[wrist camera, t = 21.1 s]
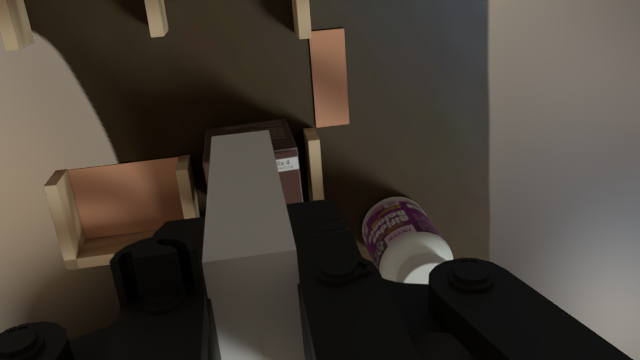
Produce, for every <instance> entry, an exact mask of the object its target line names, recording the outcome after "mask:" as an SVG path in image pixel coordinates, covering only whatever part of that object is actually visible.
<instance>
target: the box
mask: <svg viewBox="0 0 640 360" xmlns="http://www.w3.org/2000/svg"><path fill="white" fill-rule="evenodd" d="M265 130H269V134H270V138H271V142H272V147H273V151H274V155H275V160H276V164H277V168H278V173H279V177H280V181H281V185H282V190H283V194H284V198H285V203H286V204H291V203H299V202H303V194H302V185H301V175H300V165H299V156H298V148H297V146H296V143H295V141H294V139H293V136H292V134H291V131H290V128H289V126H288V123H287V122H286V120H285V119H284V118H282V119H275V120H268V121H260V122H253V123H245V124H238V125H231V126H224V127H217V128H210V129H206V132H205V145H204V154H203V170H204V174H205V179H206V185H207V190H208V178H209V165H210V152H211V139H212V137H213V136H222V135H230V134H239V133H248V132H257V131H265Z"/></svg>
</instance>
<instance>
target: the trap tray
mask: <svg viewBox="0 0 640 360" xmlns="http://www.w3.org/2000/svg"><path fill="white" fill-rule="evenodd" d="M144 1H145V7H146V12H147V18H148V23H149V29H150V34H151V37H161V36H165V34H166V33H167V31H168V24H167V18H166V12H165V6H164V0H144ZM292 9H293V21H294V32H295V34H296V35H297V37H298V38H299V39H308V38H309V41H310V54H311V67H312V80H313V92H314V105H315V118H316V128H317V127H326V126H335V125H343V124H349V109H348V91H347V73H346V55H345V36H344V28H341V29H331V30H321V31H311V22H310V9H309V0H292ZM0 33H1V36H2V40H3V44H4V47H5V50H6V51H13V50H20V49H22V48H24V47H26V46H28V45H30V44H32V43H34V39H33V35H32V31H31V28H30V24H29V20H28V16H27V12H26V8H25V4H24V1H23V0H0ZM303 135H304V146H305V157H306V169H307V180H308V192H309V201H314V200H322V199H324V191H323V178H322V165H321V152H320V140H319V138H318V136H317V134H316V131H315V129H314V128H305V129H303ZM68 173H69V174H68ZM69 177H70V178H69ZM70 180H71V181H70ZM71 184H72V185H71ZM72 188H73V189H72ZM44 190H45V193H46V197H47V200H48V204H49V208H50V211H51V214H52V218H53V222H54V225H55V229H56V232H57V236H58V240H59V243H60V247H61V250H62V254H63V257H64V261H65V265H66V268H67V270H72V269H79V268H86V267H94V266H101V265H108V264H110V263H109V261H110V260H111V258H112V257H113V256H114V254H115V253H116V252H118V251H119V250H121V249H122V248H124V247H125V246H127V245H129V244H131V243H134V242H136V241H139V240H141V239H146V238H150V237H153V234H154V233H155V232H156V231H157V230H158V229H159V228H160V227H161V226H162V225H163V224H164V223H165V222H166V221H173V220H181V219H189V218H197V217H200V212H199V206H198V200H197V195H196V189H195V183H194V177H193V171H192V165H191V159H190V155H184V156H179V157H173V158H164V159H156V160H147V161H139V162H131V163H122V164H114V165H105V166H97V167H88V168H80V169H71V170H67V169H65V170H57V171H55V172H54V174H53V175H52V176H51V178H50V179H49V180H48V181H47V183H46V184H45V186H44ZM73 192H74V193H73ZM74 196H75V197H74ZM75 200H76V201H75ZM76 204H77V205H76ZM77 207H78V208H77ZM78 211H79V212H78ZM79 215H80V216H79ZM80 219H81V220H80ZM81 223H82V224H81ZM82 227H83V228H82ZM151 230H152V231H151ZM83 231H84V232H83ZM84 234H85V235H84ZM85 238H86V239H85ZM90 238H91V239H90Z"/></svg>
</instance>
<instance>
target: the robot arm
mask: <svg viewBox="0 0 640 360" xmlns="http://www.w3.org/2000/svg"><path fill="white" fill-rule="evenodd" d="M109 263H110V266H111V270H112V275H113V279H114V283H115V287H116V291H117V295H118V299H119V303H120V310H119V313H118V317H117V320H116V322H114V323H113V324H111V325H109V326H107V327H105V328H103V329H100V330H98V331H95V332H93V333H90V334H87V335H84V336H81V337H78V338H75V339H72V340H69V339H68V336H67V332H66V329H65V328H63V327H62V326H60V325H59V324H57V323H51V322H35V323H26V324H22V325H18V326H17V327H16V326H15V327H12V328H9V329H7V330H5V331H4V332H2V333H0V360H633V359H631V358H630V357H629V356H627V355H626V354H624V353H623V352H622V351H620V350H619V349H617V348H616V347H615V346H613V345H612V344H610V343H609V342H608V341H606V340H605V339H603V338H602V337H600V336H599V335H597V334H596V333H595V332H593V331H592V330H591V329H589V328H588V327H586V326H585V325H584V324H582V323H581V322H579V321H578V320H577V319H575V318H574V317H572V316H571V315H569V314H568V313H567V312H565V311H564V310H562V309H561V308H559V307H558V306H557V305H555V304H554V303H553V302H551V301H550V300H548V299H547V298H545V297H544V296H543V295H541V294H540V293H538V292H537V291H536V290H534V289H533V288H531V287H530V286H529V285H527V284H526V283H524V282H523V281H522V280H520V279H518V278H517V277H516V276H514V275H513V274H512V273H510V272H509V271H507V270H506V269H504V268H502V267H500V266H498V265H496V264H494V263H493V262H488V261H484V260H480V259H477V258H459V259H453V260H448V261H445V262H443V263H441V264H438V265H436V266H435V267H434V268H433V269H432V270H431V271H430V273H429V280H428V284H414V283H402V282H395V281H391V280H387V279H384V278H382V276H381V274H380V272H379V270H378V268H377V267H376V266H375V265H374V264H373V263H372V262H371V261H369V260H367V259H365V258H363V257H362V256H361V253H360V251H359V249H358V246H357V244H356V242H355V240H354V237H353V235H352V233H351V231H350V230H349V226H348V224H347V221H345V217H344V215H343V212H342V210H341V208H340V207H339V206H337V205H336V204H334V203H333V202H331V201H329V200H328V199H322V200H314V201H307V202H299V203H291V204H286V203H285V198H284V194H283V190H282V185H281V181H280V177H279V173H278V168H277V164H276V160H275V155H274V151H273V147H272V142H271V138H270V134H269V130H265V131H257V132H248V133H239V134H230V135H222V136H213V137H212V139H211V152H210V165H209V178H208V190H207V203H206V216H204V217H197V218H189V219H181V220H173V221H166V222H165V223H164V224H163V225H162V226H161V227H160V228H159V229H158V230H157V231H156V232H155V233H154V234H153V237H150V238H146V239H141V240H139V241H136V242H134V243H131V244H129V245H127V246H125V247H124V248H122V249H121V250H119V251H118V252H116V253H115V254H114V256H113V257H112V258H111V260H110V261H109Z"/></svg>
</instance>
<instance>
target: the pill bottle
mask: <svg viewBox="0 0 640 360" xmlns="http://www.w3.org/2000/svg"><path fill="white" fill-rule="evenodd" d="M362 234H363V239H364V241H365V244H366V246H367V248H368V251H369V253H370V255H371V257H372V259H373V262H374V264H375V266H376V267H377V268H378V270H379V272H380V274H381V276H382V278H384V279H387V280H391V281H395V282H402V283H414V284H428V280H429V273H430V271H431V270H432V269H433V268H434V267H435V266H436V265H438V264H441V263H443V262H445V261H448V260H453V256H452V252H451V250H450V248H449V246H448V244H447V243H446V242H445V240H444V239H443V237H442V236H441V234H440V233H439V232H438V230H437V229H436V227H435V226H434V225H433V223H432V222H431V221H430V219H429V218H428V216H427V215H426V214H425V212H424V211H423V210H422V209H421V207H420V206H419V205H418V204H417V203H415V202H414V201H412V200H410V199H408V198H405V197H390V198H387V199H384V200H382V201H380V202H378V203H377V204H376V205H374V206H373V207H372V208H371V209H370V210H369V211H368V212H367V214H366V216H365V218H364V220H363V225H362Z"/></svg>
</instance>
